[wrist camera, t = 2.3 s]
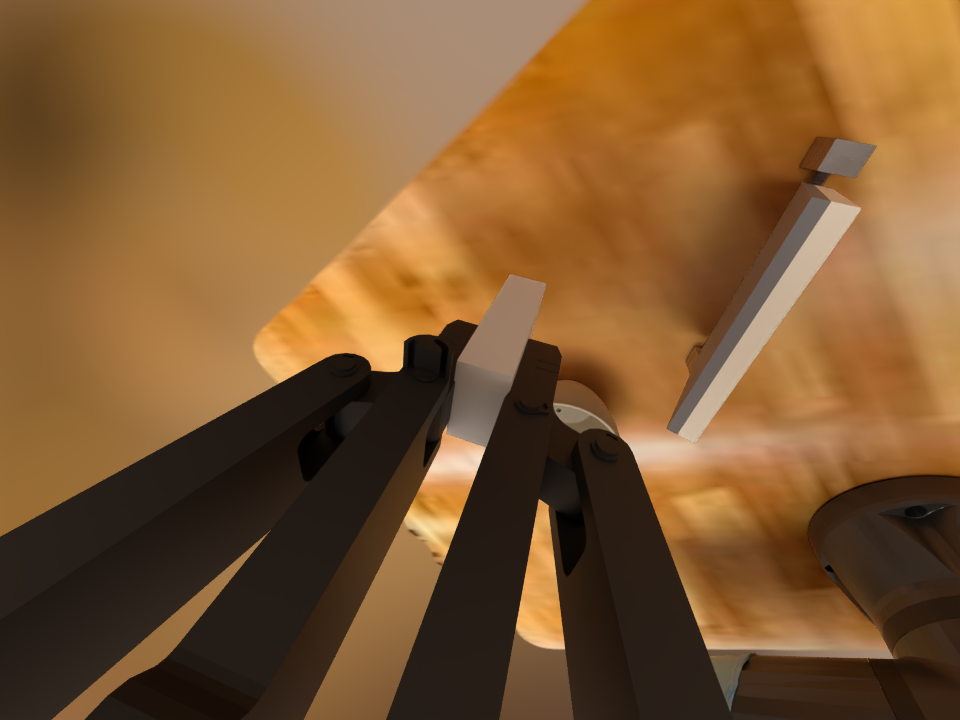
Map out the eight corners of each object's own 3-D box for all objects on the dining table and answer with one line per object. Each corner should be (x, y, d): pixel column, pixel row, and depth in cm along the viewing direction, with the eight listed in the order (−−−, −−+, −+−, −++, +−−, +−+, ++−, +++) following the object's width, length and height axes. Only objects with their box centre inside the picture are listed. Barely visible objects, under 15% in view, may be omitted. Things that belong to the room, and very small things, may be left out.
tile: (801, 182, 22) (831, 188, 21) (701, 348, 29) (722, 357, 28) (811, 196, 14) (862, 208, 13) (666, 428, 20) (694, 443, 20)
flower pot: (586, 340, 33) (582, 385, 27) (639, 419, 36) (645, 476, 30) (499, 381, 38) (479, 427, 33) (551, 448, 41) (541, 501, 35)
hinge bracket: (853, 144, 22) (877, 145, 20) (709, 368, 31) (716, 384, 29) (816, 137, 22) (836, 138, 20) (685, 361, 32) (690, 376, 30)
